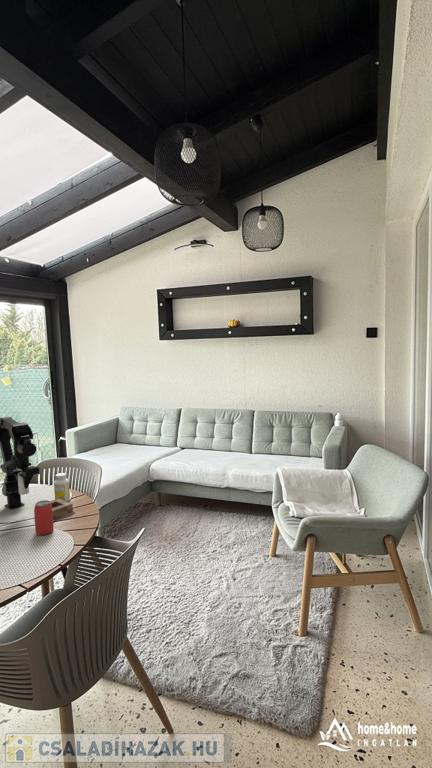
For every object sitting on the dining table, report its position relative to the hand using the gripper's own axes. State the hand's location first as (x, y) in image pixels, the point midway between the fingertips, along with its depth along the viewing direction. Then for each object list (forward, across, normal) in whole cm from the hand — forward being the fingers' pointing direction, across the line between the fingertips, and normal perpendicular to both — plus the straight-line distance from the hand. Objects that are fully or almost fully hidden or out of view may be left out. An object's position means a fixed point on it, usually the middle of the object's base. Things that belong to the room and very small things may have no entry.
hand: (23, 487), depth 180 cm
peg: (+2, 0, 0) cm, 2 cm away
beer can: (+13, +23, -4) cm, 26 cm away
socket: (+12, +10, +8) cm, 18 cm away
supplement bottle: (+12, -2, +19) cm, 23 cm away
